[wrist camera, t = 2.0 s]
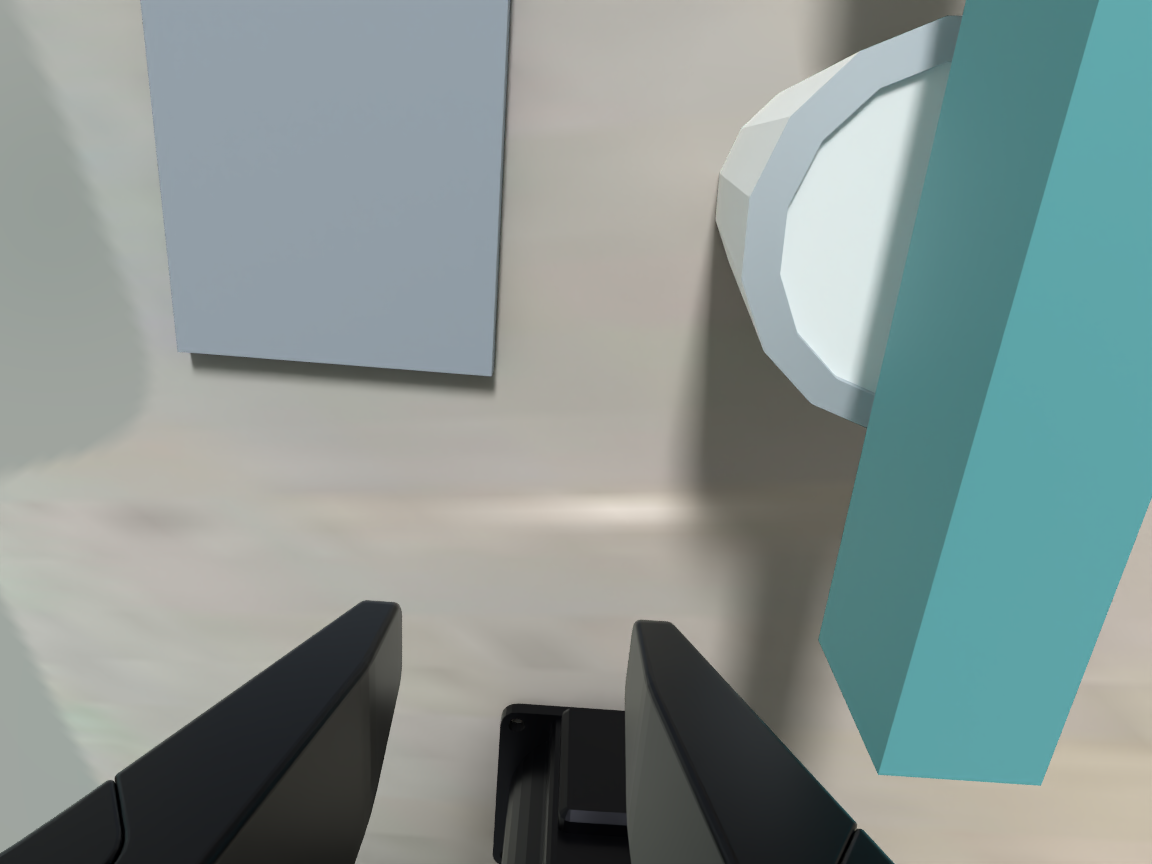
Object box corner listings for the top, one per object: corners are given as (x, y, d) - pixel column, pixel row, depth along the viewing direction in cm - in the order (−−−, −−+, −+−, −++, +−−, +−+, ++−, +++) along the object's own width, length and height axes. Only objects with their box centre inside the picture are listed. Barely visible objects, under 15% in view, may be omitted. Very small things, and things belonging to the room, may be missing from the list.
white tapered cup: (769, 383, 22) (851, 503, 15) (637, 153, 19) (665, 177, 13) (1016, 243, 20) (1223, 309, 14) (902, -22, 18) (1084, -94, 12)
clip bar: (1171, -1175, 7) (1569, -2041, 4) (1553, -1126, 7) (2198, -1940, 4) (785, 637, 15) (837, 771, 12) (981, 651, 15) (1081, 788, 12)
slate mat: (493, 369, 21) (491, 376, 21) (188, 345, 21) (177, 351, 21) (518, -179, 17) (516, -188, 16) (132, -216, 17) (116, -227, 16)
